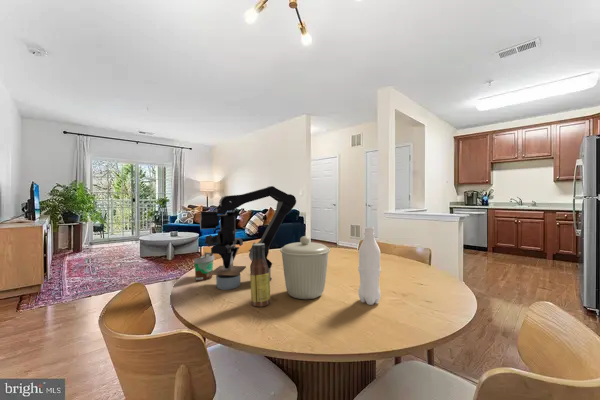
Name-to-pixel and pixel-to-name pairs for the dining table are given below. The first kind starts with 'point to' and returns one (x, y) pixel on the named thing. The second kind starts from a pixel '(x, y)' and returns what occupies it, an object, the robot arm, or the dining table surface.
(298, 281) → the canister
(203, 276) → the food container
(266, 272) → the sauce bottle
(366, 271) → the water bottle
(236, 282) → the bowl
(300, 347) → the dining table surface
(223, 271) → the lid
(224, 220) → the robot arm
